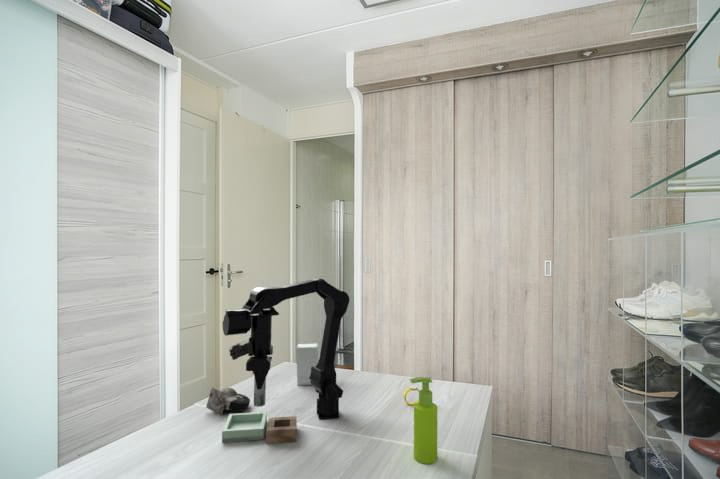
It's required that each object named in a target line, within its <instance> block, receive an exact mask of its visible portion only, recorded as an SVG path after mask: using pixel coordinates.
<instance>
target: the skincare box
mask: <svg viewBox="0 0 720 479" xmlns="http://www.w3.org/2000/svg"><path fill="white" fill-rule="evenodd" d="M295 350H296V380H297V381H296V382H297V386H307V385H308V386H309V385H310V386H312V385H311V380H310V379H309V377H310V375H311V367H312V366H314V367H316V365H317V364H318V362H319V343H318V342H317V343H315V342H314V343H298V344H297V345H296V349H295Z"/></svg>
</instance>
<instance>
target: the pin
mask: <svg viewBox="0 0 720 479" xmlns="http://www.w3.org/2000/svg"><path fill="white" fill-rule="evenodd" d="M251 373H252V375H254V372H252V371H251ZM253 383H254V384H253V406H254V407H258V408H260V407H264V406H265V405H266V396H267V395H266V390H267V388H266V387H267V386H266V385H267V378H266V379H265V381H264V384H263V386H262V389H257V385H256V381H255V376H254V380H253Z"/></svg>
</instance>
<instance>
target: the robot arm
mask: <svg viewBox="0 0 720 479" xmlns="http://www.w3.org/2000/svg"><path fill="white" fill-rule="evenodd" d="M314 293H316V294H317V295H318V296H319V297H320V298H321V299H323V310H324V313H325V323H324V330H323V335H322V336H323V337H322V340H321V348H320V354H319V357H318V364H317V365H316V367H314V366H312V367H311V375H310V377H309V379H310V380H311V385H310V386H312V387H313V388H314V390H315V392H316V393H317V394H318V397H317V398H316V416H318V420H321V419H322V420H323V419H324V420H325V419H339V418H340V411H339V410H340V409H339V407H340V405H339V404H340V399H341V398H343V397H342V396H343V395H344V390H343V389H342V388H341V387H340V386H339V385H338V384H337V371H336V367H335V359H336V353H337V348H338V341H339V335H340V329H341V321H342V318H343V317H344V315H345V314H346V312H347V311H348V307H349V304H350V296H349V295H348V293H347V292H346V291H345V290H340V289H338V288H336V286H334V285H332V284H330V283H328V282H327V281H326V280H325V279H324V278H319V277H315V278H314V277H313V278H312V279H307V280H305V281H300V282H299V281H298V282H295V283H291V284H286V285H281V286H260V287H259V286H257V287H255V288H253V289H251V291H250V294H249V297H248V299H247V300H246V302H245V303H244V305H243V306H242V307H241V309H235V310H234V309H225V314H224V316H223V320H222V331H223V335H224V336H235V335H242V334H243V335H244V334H245V335H246V334H248V332H250V335H249V338H248V339H247V340H244V341H241V342H238V343H235V344H233V345H231V346H230V347H229V349H228V351H229V356H230V357H231V359H232V361H235V360H238V358H241V357H243V356H246V355H247V356H248V357H249V358H248V359H247V361H246V364H245V370H246V372H251V373H252V372H254V374H253V375H254V376H255V381H256V385H257V389H262V386H263V384H264V381H265V379H266V380H267V376H268V374H269V371H270V370H271V366H272V365H271V364H272V363H271V362H272V359H273V357H272V356H271V355H273V352H274V346H273V345H272V337H273V336H272V335H273V333H272V325H273V323H272V321H273V318H272V317H274V316H279V315H280V313H279V311H277V310H276V308H275V306H277V305H279V304H281V303H282V302H284V301H286V300H290V299H293V298H297V297H302V296H306V295H309V294H314Z"/></svg>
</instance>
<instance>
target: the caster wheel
mask: <svg viewBox="0 0 720 479" xmlns="http://www.w3.org/2000/svg"><path fill="white" fill-rule="evenodd" d="M210 389H211V390H210V393H209V396H208V399H207V403H206V406H205V407H206V409H208V410H210V411H212V412H214V413H216V414H218V415H219V416H220V415H221V416H222V415H223V413H224V410H227V411H234V412H243V411H244V412H245V411H246V410H248V409H249V406H250V403H251V399H250V398H249V397H248V396H246V395H245V394H241V393H237V391H236V390H235V389H233V388H232V387H224V388H220V389H217V388H215V387H211V388H210Z"/></svg>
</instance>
